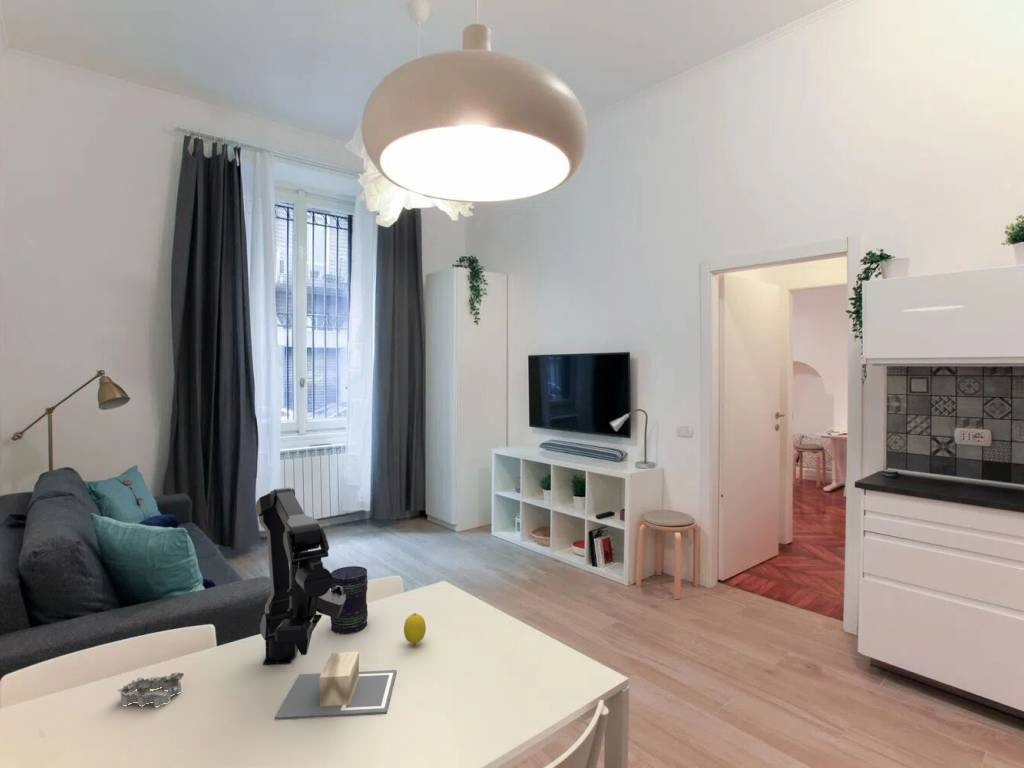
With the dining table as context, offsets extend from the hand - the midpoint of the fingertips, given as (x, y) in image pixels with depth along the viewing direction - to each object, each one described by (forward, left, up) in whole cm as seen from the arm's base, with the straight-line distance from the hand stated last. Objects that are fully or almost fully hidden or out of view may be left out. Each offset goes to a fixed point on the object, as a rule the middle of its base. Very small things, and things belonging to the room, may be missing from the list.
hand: (304, 654), depth 117 cm
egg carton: (-32, +2, -9) cm, 34 cm away
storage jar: (+3, +33, -9) cm, 34 cm away
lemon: (+22, +21, -9) cm, 31 cm away
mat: (+8, 0, -9) cm, 12 cm away
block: (+5, 0, -5) cm, 7 cm away
